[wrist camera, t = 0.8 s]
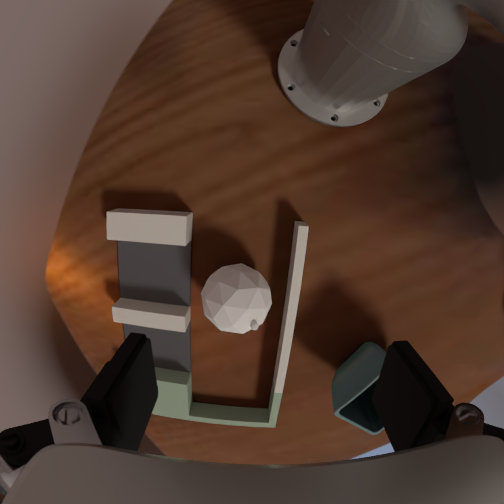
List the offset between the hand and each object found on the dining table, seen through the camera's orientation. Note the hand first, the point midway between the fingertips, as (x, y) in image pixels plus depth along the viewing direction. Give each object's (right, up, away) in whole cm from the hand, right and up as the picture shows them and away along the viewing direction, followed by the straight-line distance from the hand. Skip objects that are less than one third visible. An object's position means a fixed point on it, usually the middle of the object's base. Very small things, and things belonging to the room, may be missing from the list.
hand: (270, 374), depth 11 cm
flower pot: (+14, -10, +26) cm, 32 cm away
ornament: (-2, +1, +23) cm, 24 cm away
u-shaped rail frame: (-7, -5, +25) cm, 26 cm away
